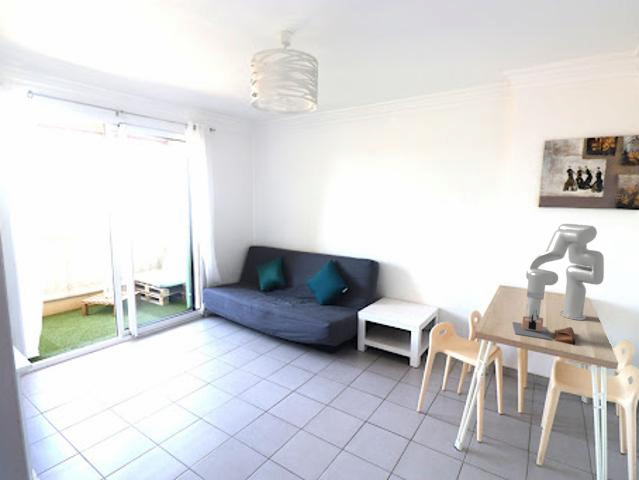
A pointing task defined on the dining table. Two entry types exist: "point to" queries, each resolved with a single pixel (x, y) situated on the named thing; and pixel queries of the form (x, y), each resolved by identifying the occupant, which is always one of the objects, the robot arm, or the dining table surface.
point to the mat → (531, 332)
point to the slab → (526, 320)
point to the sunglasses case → (565, 336)
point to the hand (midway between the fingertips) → (531, 328)
